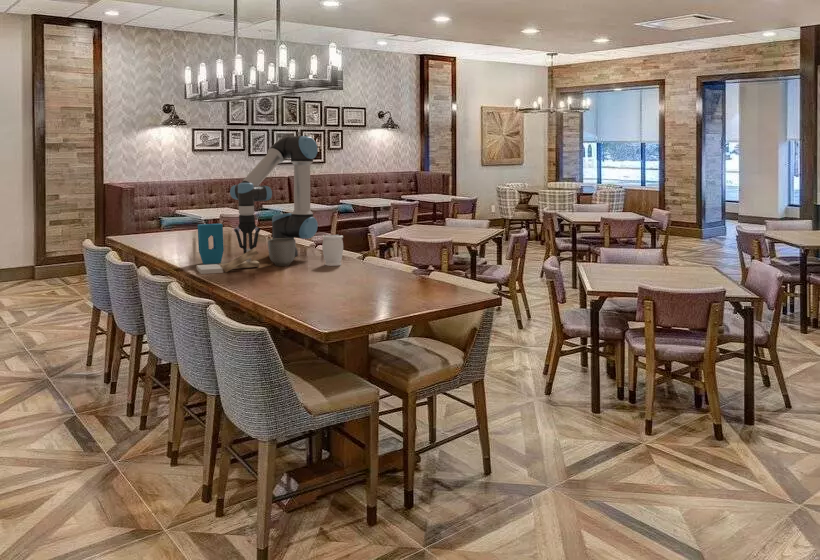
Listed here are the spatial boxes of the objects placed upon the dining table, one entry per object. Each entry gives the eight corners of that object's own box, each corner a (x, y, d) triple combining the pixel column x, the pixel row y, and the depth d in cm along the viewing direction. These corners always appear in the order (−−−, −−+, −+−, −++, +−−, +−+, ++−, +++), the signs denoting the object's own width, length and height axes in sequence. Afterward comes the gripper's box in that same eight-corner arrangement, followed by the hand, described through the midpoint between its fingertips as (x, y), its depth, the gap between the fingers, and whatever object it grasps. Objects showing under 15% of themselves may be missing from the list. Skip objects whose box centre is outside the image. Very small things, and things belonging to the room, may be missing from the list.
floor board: (218, 268, 379) (218, 263, 378) (224, 272, 365) (223, 268, 365) (196, 269, 374) (196, 265, 374) (201, 274, 361) (201, 269, 360)
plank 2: (256, 264, 386) (256, 260, 385) (259, 266, 380) (259, 262, 380) (220, 267, 379) (220, 263, 378) (222, 269, 373) (222, 265, 373)
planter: (273, 268, 379) (272, 242, 377) (265, 264, 391) (264, 239, 389) (300, 266, 386) (299, 240, 383) (291, 262, 398) (290, 237, 395)
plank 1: (255, 251, 376) (253, 247, 375) (258, 253, 370) (256, 249, 369) (223, 270, 371) (221, 266, 370) (225, 272, 365) (223, 268, 365)
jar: (346, 264, 393) (346, 235, 390) (338, 267, 383) (337, 237, 381) (327, 262, 396) (327, 234, 394) (319, 265, 387) (318, 236, 384)
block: (201, 264, 389) (199, 225, 386) (198, 263, 394) (197, 224, 390) (224, 263, 395) (223, 224, 391) (222, 261, 399) (220, 223, 396)
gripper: (258, 213, 382) (260, 260, 386) (231, 214, 377) (233, 261, 381) (262, 214, 376) (263, 262, 380) (234, 215, 370) (236, 263, 374)
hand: (248, 261), depth 380 cm, fingers closed, pressing on plank 2
